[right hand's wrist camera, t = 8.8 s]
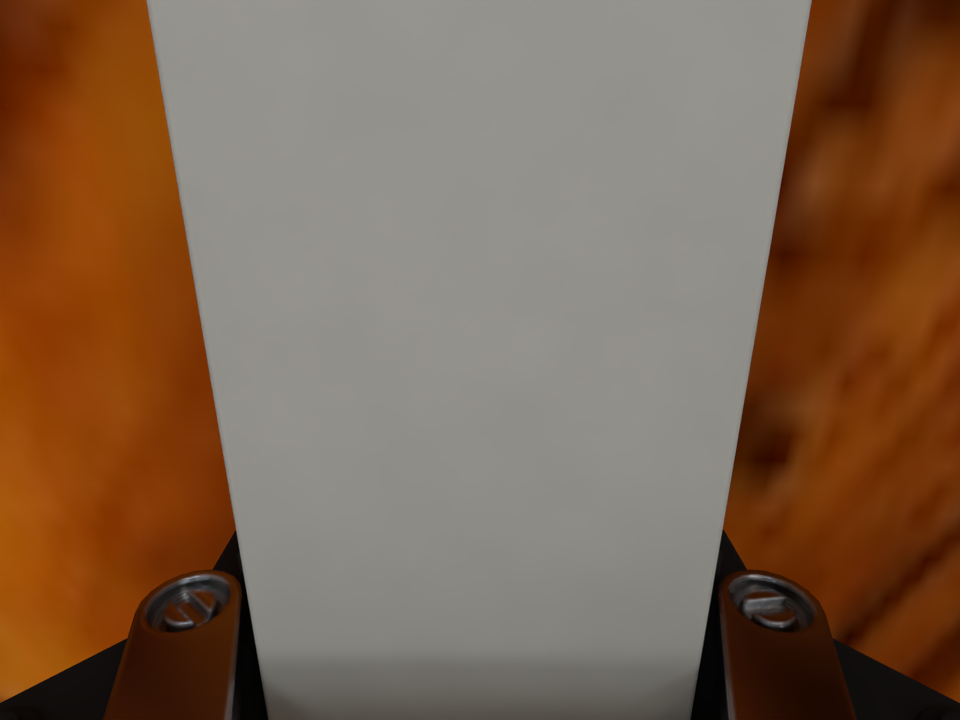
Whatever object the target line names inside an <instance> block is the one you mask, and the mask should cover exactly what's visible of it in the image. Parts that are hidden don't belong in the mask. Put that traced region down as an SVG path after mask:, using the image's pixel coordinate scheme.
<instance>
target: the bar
mask: <svg viewBox="0 0 960 720" xmlns="http://www.w3.org/2000/svg"><path fill="white" fill-rule="evenodd" d="M811 1H812V0H147V6H148V12H149V18H150V24H151V30H152V36H153V42H154V48H155V54H156V59H157V65H158V71H159V77H160V83H161V89H162V95H163V101H164V107H165V113H166V119H167V124H168V130H169V136H170V142H171V148H172V154H173V160H174V166H175V172H176V178H177V183H178V189H179V195H180V201H181V207H182V213H183V219H184V225H185V231H186V237H187V242H188V248H189V254H190V260H191V266H192V272H193V278H194V284H195V290H196V296H197V302H198V307H199V313H200V319H201V325H202V331H203V337H204V343H205V349H206V355H207V361H208V366H209V372H210V378H211V384H212V390H213V396H214V402H215V408H216V414H217V420H218V425H219V431H220V437H221V443H222V449H223V455H224V461H225V467H226V473H227V479H228V485H229V490H230V496H231V502H232V508H233V514H234V520H235V526H236V532H237V538H238V544H239V549H240V555H241V561H242V567H243V573H244V579H245V585H246V591H247V597H248V603H249V608H250V614H251V620H252V626H253V632H254V638H255V644H256V650H257V656H258V662H259V668H260V673H261V679H262V685H263V691H264V697H265V703H266V709H267V715H268V720H690V719H691V713H692V707H693V701H694V695H695V689H696V683H697V677H698V671H699V666H700V660H701V654H702V648H703V642H704V636H705V630H706V624H707V618H708V612H709V606H710V600H711V594H712V588H713V582H714V577H715V571H716V565H717V559H718V553H719V547H720V541H721V535H722V529H723V523H724V517H725V511H726V505H727V499H728V493H729V488H730V482H731V476H732V470H733V464H734V458H735V452H736V446H737V440H738V434H739V428H740V422H741V416H742V410H743V404H744V398H745V393H746V387H747V381H748V375H749V369H750V363H751V357H752V351H753V345H754V339H755V333H756V327H757V321H758V315H759V309H760V304H761V298H762V292H763V286H764V280H765V274H766V268H767V262H768V256H769V250H770V244H771V238H772V232H773V226H774V220H775V215H776V209H777V203H778V197H779V191H780V185H781V179H782V173H783V167H784V161H785V155H786V149H787V143H788V137H789V131H790V126H791V120H792V114H793V108H794V102H795V96H796V90H797V84H798V78H799V72H800V66H801V60H802V54H803V48H804V42H805V37H806V31H807V25H808V19H809V13H810V7H811Z"/></svg>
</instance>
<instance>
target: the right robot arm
mask: <svg viewBox="0 0 960 720" xmlns="http://www.w3.org/2000/svg"><path fill="white" fill-rule="evenodd" d="M0 720H268V715H267V709H266V703H265V697H264V691H263V685H262V679H261V673H260V668H259V662H258V656H257V650H256V644H255V638H254V632H253V626H252V620H251V614H250V608H249V603H248V597H247V591H246V585H245V579H244V573H243V567H242V561H241V555H240V549H239V544H238V538H237V532H236V531H235V533H234V534H233V536H232V538H231V539H230V541H229V543H228V544H227V546H226V548H225V549H224V551H223V553H222V555H221V556H220V558H219V560H218V561H217V563H216V565H215V566H214V568H213V570H200V571H193V572H190V573H186V574H182V575H179V576H177V577H175V578H172V579H170V580H168V581H166V582H164V583H163V584H161V585H160V586H158V587H157V588H155V589H154V590H152V591H151V592H150V593H149V594H148V595H147V596H146V597H145V598H144V599H143V600H142V601H141V603H140V605H139V607H138V609H137V610H136V612H135V615H134V618H133V622H132V625H131V628H130V632H129V635H128V638H127V639H125V640H123V641H121V642H119V643H117V644H115V645H113V646H111V647H109V648H107V649H105V650H103V651H102V652H100V653H98V654H96V655H94V656H92V657H90V658H88V659H86V660H84V661H82V662H80V663H78V664H76V665H74V666H72V667H70V668H68V669H66V670H64V671H62V672H60V673H58V674H56V675H54V676H52V677H51V678H49V679H47V680H45V681H43V682H41V683H39V684H37V685H35V686H33V687H31V688H29V689H27V690H25V691H23V692H21V693H19V694H17V695H15V696H13V697H11V698H9V699H7V700H5V701H3V702H1V703H0ZM690 720H960V703H958V702H956V701H954V700H952V699H950V698H948V697H946V696H944V695H943V694H941V693H939V692H937V691H935V690H933V689H931V688H929V687H927V686H925V685H923V684H921V683H919V682H917V681H915V680H913V679H911V678H909V677H907V676H905V675H903V674H901V673H899V672H897V671H895V670H893V669H892V668H890V667H888V666H886V665H884V664H882V663H880V662H878V661H876V660H874V659H872V658H870V657H868V656H866V655H864V654H862V653H860V652H858V651H856V650H854V649H852V648H850V647H848V646H846V645H844V644H842V643H841V642H839V641H837V640H835V639H833V638H832V635H831V632H830V628H829V625H828V622H827V618H826V615H825V612H824V610H823V609H822V607H821V605H820V603H819V601H818V600H817V599H816V598H815V597H814V596H813V595H812V594H811V593H810V592H809V591H808V590H806V589H805V588H803V587H802V586H800V585H799V584H797V583H796V582H794V581H792V580H790V579H788V578H785V577H783V576H781V575H778V574H774V573H770V572H767V571H760V570H747V569H746V567H745V565H744V564H743V562H742V560H741V559H740V557H739V555H738V554H737V552H736V550H735V548H734V547H733V545H732V543H731V542H730V540H729V538H728V537H727V535H726V533H725V531H724V530H723V529H722V535H721V541H720V547H719V553H718V559H717V565H716V571H715V577H714V582H713V588H712V594H711V600H710V606H709V612H708V618H707V624H706V630H705V636H704V642H703V648H702V654H701V660H700V666H699V671H698V677H697V683H696V689H695V695H694V701H693V707H692V713H691V719H690Z"/></svg>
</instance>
